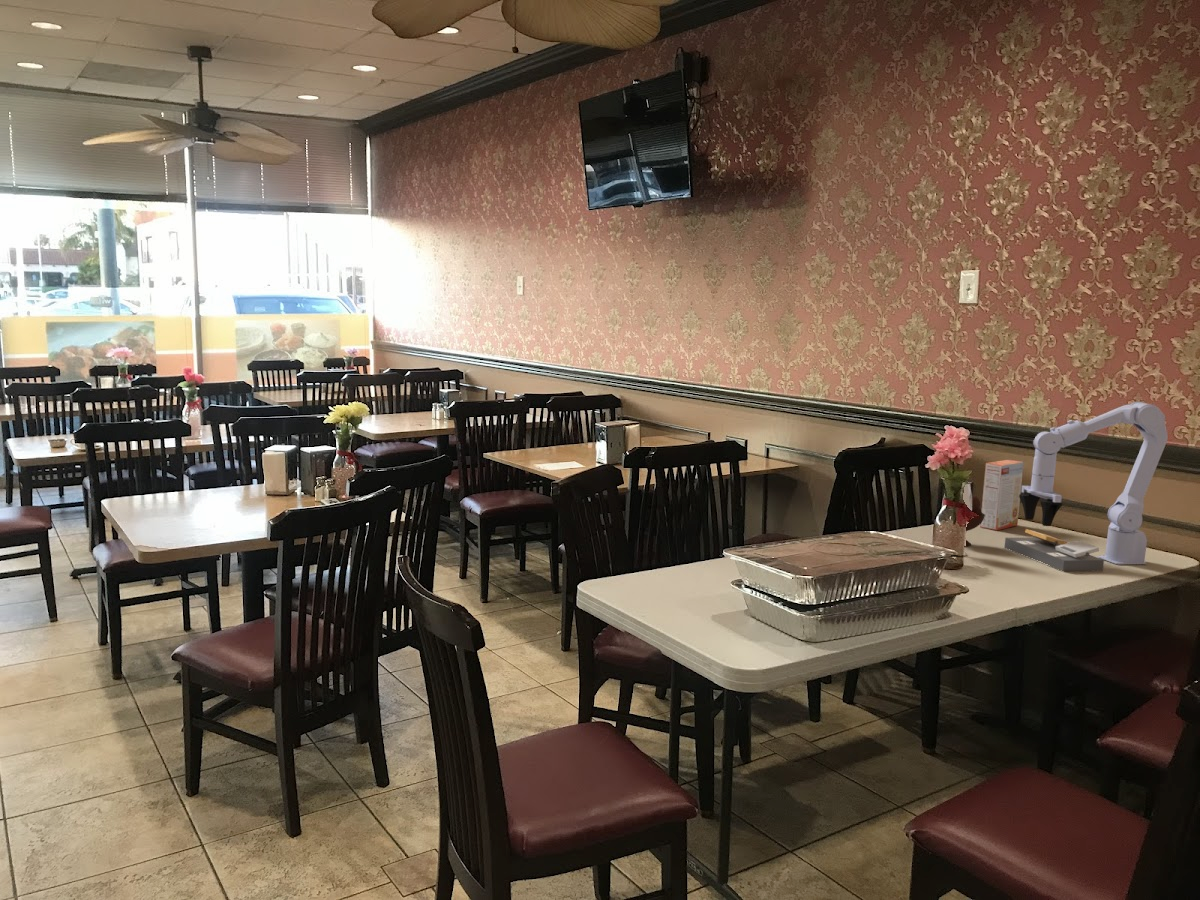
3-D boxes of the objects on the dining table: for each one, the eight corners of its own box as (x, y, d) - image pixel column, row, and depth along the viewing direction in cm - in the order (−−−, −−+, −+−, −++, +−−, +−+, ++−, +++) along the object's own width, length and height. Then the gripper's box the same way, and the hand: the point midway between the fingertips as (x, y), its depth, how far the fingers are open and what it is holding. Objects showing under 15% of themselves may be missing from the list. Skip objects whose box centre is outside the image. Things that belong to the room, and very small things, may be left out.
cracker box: (1000, 522, 309) (1006, 458, 306) (1018, 526, 305) (1025, 461, 302) (978, 527, 300) (984, 461, 297) (996, 531, 296) (1003, 464, 293)
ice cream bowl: (974, 540, 281) (979, 490, 279) (985, 550, 270) (991, 498, 268) (937, 538, 282) (942, 488, 280) (947, 547, 271) (952, 495, 269)
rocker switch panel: (1053, 547, 277) (1054, 536, 277) (1115, 570, 253) (1117, 559, 252) (1004, 547, 274) (1005, 536, 273) (1062, 571, 250) (1064, 559, 249)
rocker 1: (1044, 539, 274) (1046, 534, 274) (1065, 547, 265) (1067, 542, 265) (1024, 534, 272) (1026, 528, 272) (1044, 541, 263) (1046, 536, 263)
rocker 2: (1078, 545, 260) (1077, 540, 260) (1099, 553, 253) (1098, 547, 252) (1055, 552, 259) (1055, 546, 259) (1075, 559, 252) (1075, 553, 251)
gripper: (1014, 470, 271) (1009, 516, 273) (1047, 479, 257) (1041, 528, 259) (1036, 470, 273) (1030, 516, 275) (1070, 479, 259) (1064, 528, 261)
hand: (1037, 522), depth 267 cm, fingers open, 7 cm apart
